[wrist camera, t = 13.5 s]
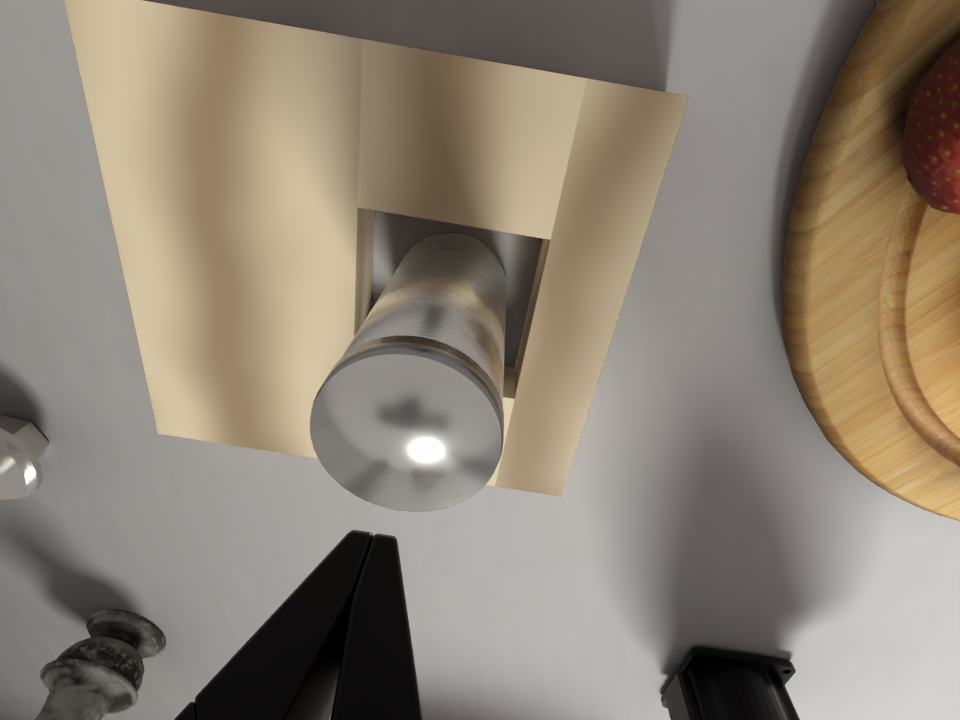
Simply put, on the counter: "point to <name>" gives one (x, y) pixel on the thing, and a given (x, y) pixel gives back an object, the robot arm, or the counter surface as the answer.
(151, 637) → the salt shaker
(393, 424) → the grey cylindrical piece
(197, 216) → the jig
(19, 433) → the screw
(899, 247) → the wooden plate with food
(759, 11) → the counter surface
